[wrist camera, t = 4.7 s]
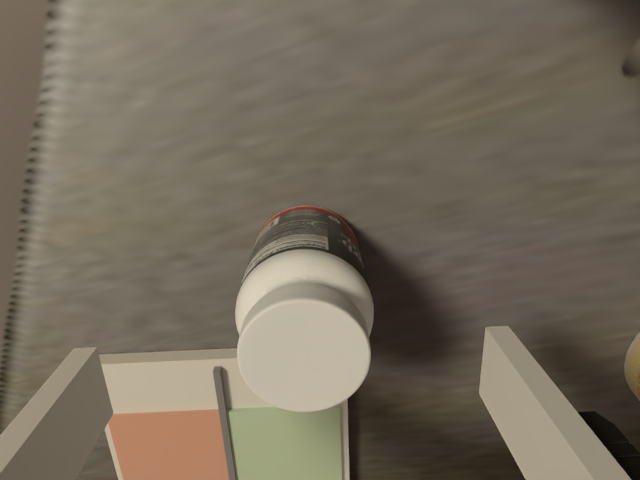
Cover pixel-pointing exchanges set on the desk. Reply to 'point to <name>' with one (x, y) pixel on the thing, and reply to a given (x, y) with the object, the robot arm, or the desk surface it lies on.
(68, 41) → the desk surface
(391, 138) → the desk surface
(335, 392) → the pill bottle
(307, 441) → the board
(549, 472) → the robot arm
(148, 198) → the desk surface
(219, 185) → the desk surface
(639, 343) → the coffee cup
